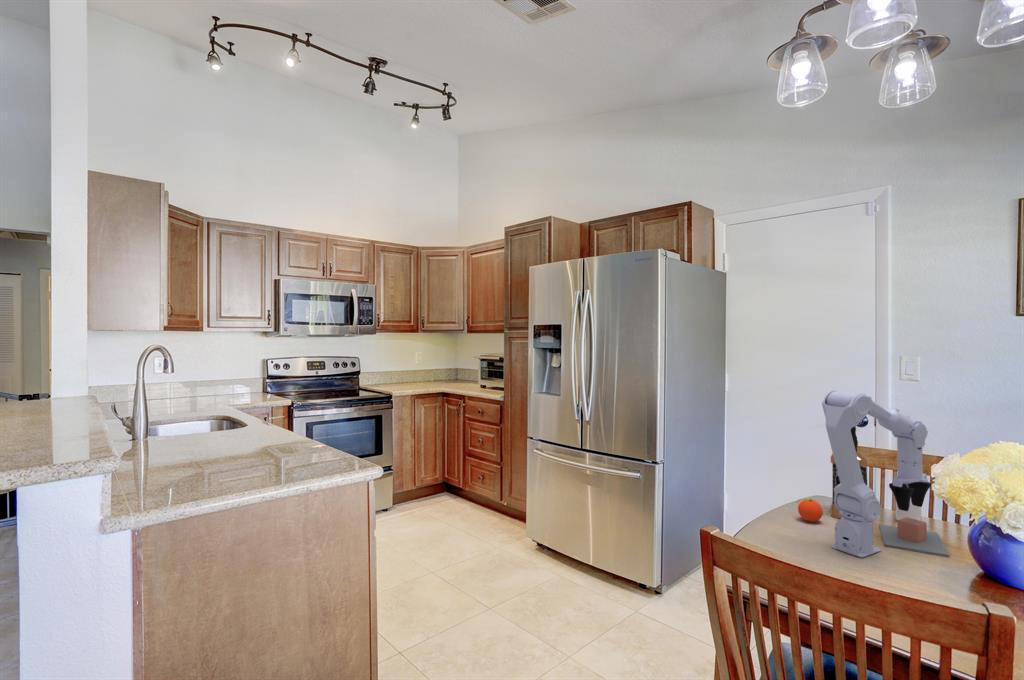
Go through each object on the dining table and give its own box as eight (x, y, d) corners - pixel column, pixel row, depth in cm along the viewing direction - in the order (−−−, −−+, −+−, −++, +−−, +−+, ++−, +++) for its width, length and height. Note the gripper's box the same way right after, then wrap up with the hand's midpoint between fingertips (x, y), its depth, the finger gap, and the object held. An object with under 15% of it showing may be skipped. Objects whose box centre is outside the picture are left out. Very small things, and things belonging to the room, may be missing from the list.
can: (898, 523, 158) (897, 486, 158) (893, 517, 164) (893, 480, 164) (924, 527, 155) (923, 488, 155) (918, 520, 161) (918, 483, 161)
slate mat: (949, 557, 134) (949, 555, 134) (884, 546, 141) (884, 544, 141) (937, 535, 149) (937, 533, 149) (879, 526, 156) (879, 524, 156)
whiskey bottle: (830, 517, 165) (829, 420, 165) (833, 508, 172) (832, 416, 173) (869, 523, 158) (868, 422, 159) (870, 515, 166) (869, 418, 166)
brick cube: (918, 543, 141) (917, 525, 141) (897, 537, 146) (897, 520, 146) (926, 539, 144) (926, 522, 144) (906, 534, 148) (906, 517, 148)
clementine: (790, 518, 164) (789, 496, 164) (804, 515, 167) (803, 493, 167) (813, 526, 157) (813, 503, 157) (827, 522, 160) (827, 500, 160)
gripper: (912, 467, 138) (913, 516, 138) (939, 461, 145) (939, 508, 145) (884, 461, 145) (884, 508, 144) (910, 456, 151) (911, 501, 151)
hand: (910, 508), depth 145 cm, fingers open, 7 cm apart
